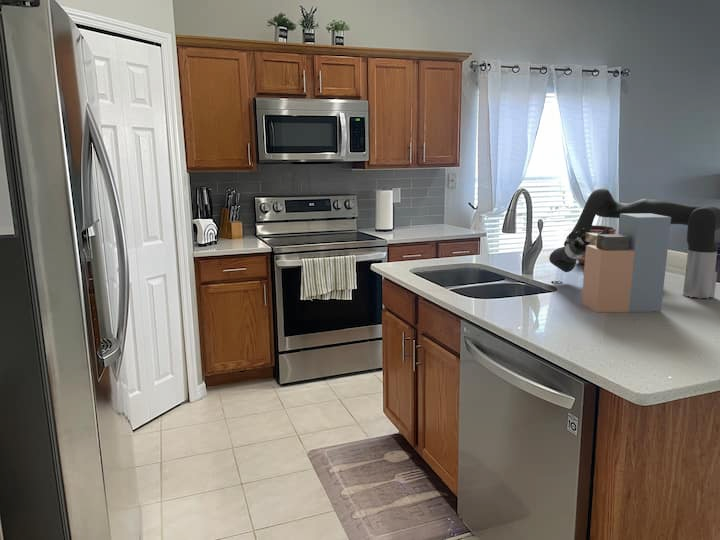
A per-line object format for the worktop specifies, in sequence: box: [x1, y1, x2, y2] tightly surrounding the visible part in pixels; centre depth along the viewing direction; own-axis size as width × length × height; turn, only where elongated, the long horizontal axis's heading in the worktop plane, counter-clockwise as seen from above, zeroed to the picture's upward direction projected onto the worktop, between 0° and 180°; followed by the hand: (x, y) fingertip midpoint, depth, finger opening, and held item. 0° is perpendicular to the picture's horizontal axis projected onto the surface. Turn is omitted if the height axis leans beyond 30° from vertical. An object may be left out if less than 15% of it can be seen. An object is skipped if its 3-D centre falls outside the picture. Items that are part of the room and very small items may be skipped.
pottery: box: [577, 224, 617, 266], centre depth 264 cm, size 18×18×18 cm
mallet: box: [585, 233, 629, 250], centre depth 192 cm, size 21×8×4 cm, turn 1°
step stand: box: [581, 213, 672, 313], centre depth 188 cm, size 22×12×32 cm, turn 91°
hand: (595, 230), depth 197 cm, fingers open, 8 cm apart
